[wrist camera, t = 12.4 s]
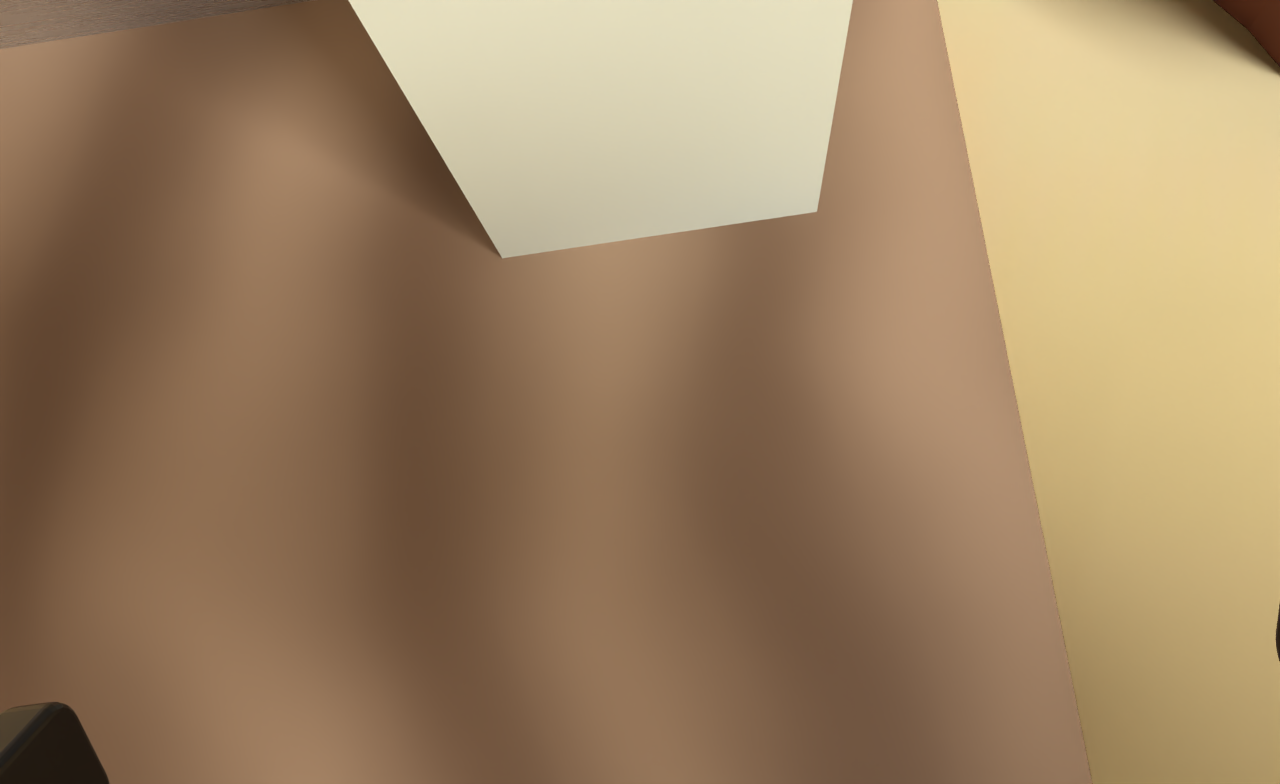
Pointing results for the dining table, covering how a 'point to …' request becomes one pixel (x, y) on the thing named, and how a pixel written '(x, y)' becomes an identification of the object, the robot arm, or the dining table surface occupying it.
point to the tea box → (619, 109)
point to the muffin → (1258, 21)
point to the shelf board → (501, 444)
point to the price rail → (105, 16)
